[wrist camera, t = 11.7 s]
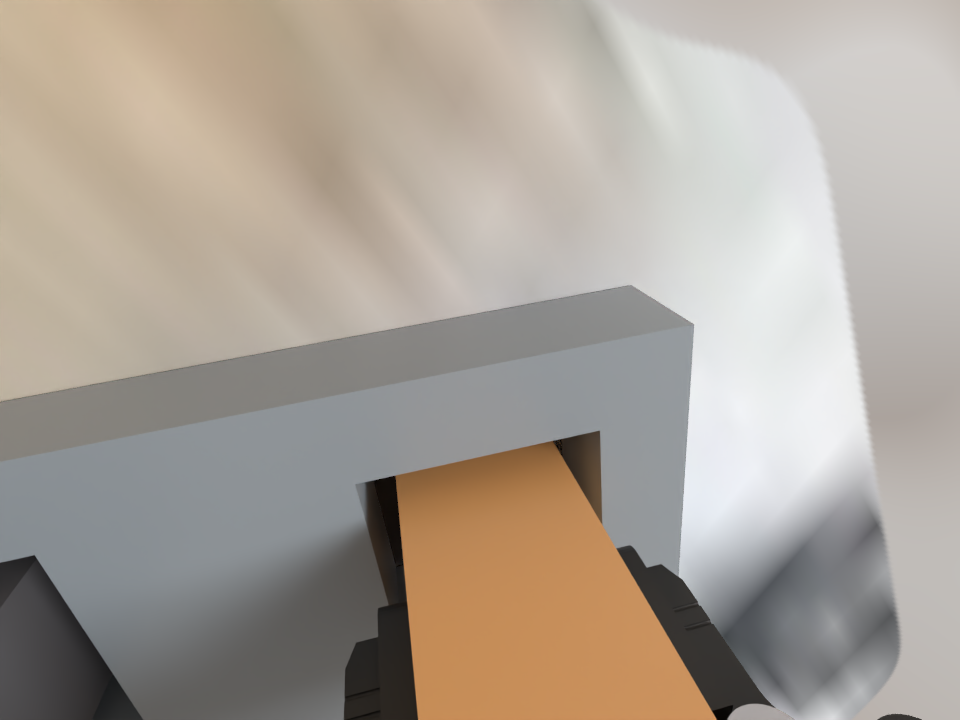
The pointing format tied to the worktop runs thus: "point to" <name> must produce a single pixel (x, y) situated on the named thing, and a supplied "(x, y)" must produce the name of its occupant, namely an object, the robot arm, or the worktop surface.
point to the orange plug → (528, 600)
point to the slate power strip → (301, 499)
